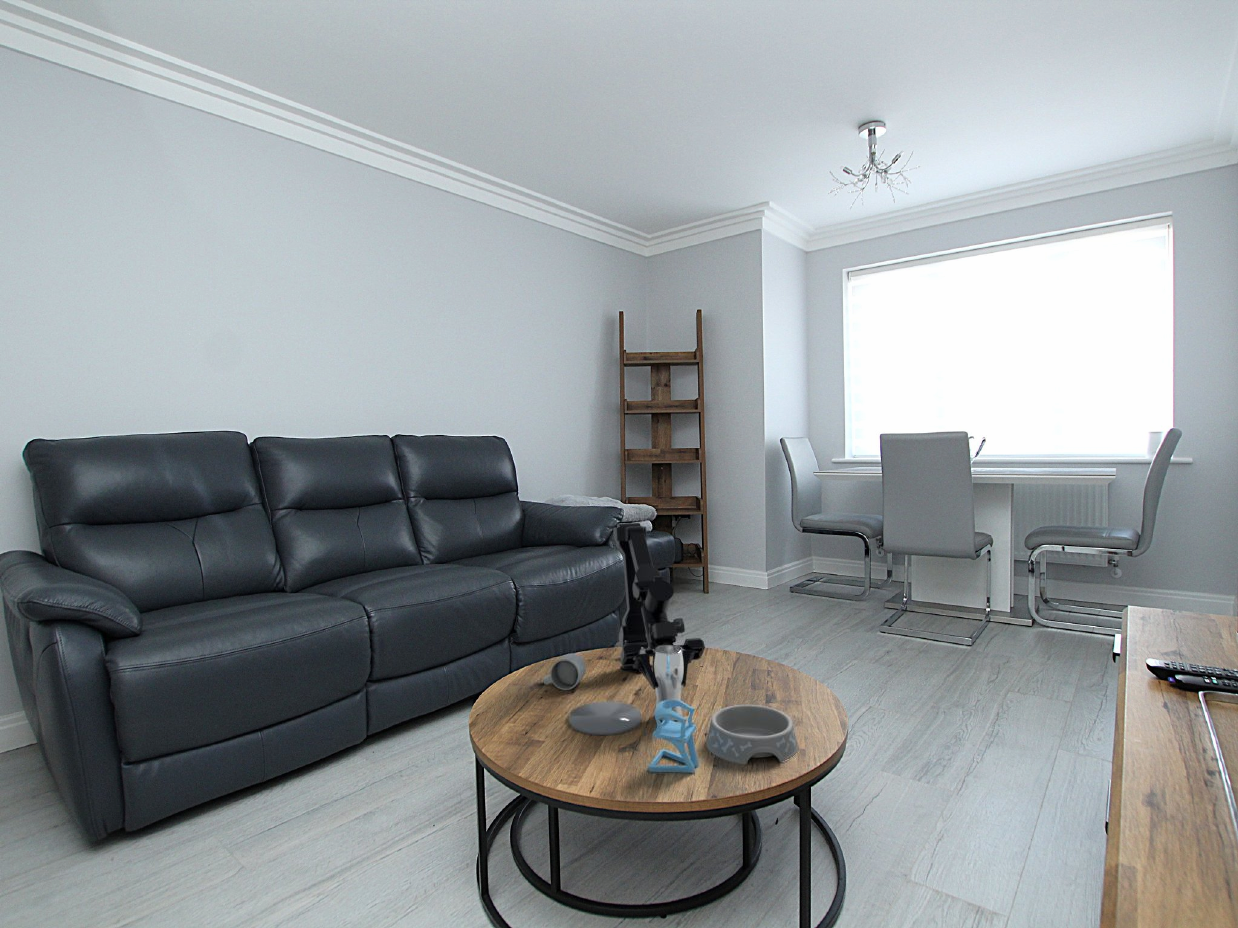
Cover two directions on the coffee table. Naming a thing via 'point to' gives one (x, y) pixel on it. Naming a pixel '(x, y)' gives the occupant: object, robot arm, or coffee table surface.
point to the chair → (675, 737)
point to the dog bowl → (751, 734)
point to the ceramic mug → (566, 672)
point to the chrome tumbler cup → (668, 674)
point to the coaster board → (605, 718)
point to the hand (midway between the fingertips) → (669, 687)
